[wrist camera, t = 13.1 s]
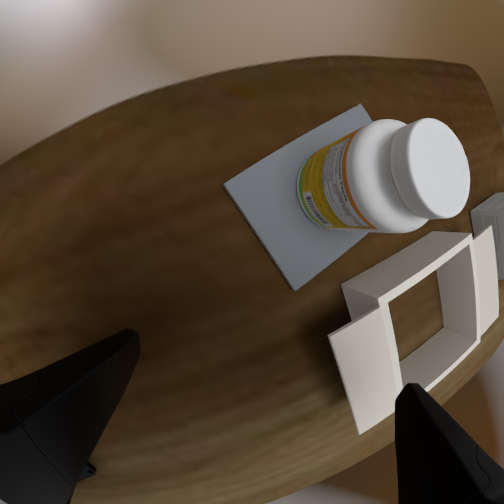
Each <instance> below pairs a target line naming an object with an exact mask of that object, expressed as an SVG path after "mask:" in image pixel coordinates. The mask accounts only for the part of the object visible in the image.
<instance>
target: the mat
mask: <svg viewBox="0 0 504 504" xmlns="http://www.w3.org/2000/svg"><path fill="white" fill-rule="evenodd" d="M370 123H372V120H371V118H370V117H369V115H368V114H367V112H366V111H365V109H364V108H363V106H362V105H361V104H360V105H358V106H356V107H354V108H352V109H350V110H348V111H346V112H344V113H342V114H340V115H339V116H337V117H335V118H333V119H331V120H329V121H328V122H326V123H324V124H322V125H320V126H318V127H317V128H315V129H313V130H311V131H310V132H308V133H306V134H304V135H303V136H301V137H299V138H297V139H296V140H294V141H292V142H290V143H289V144H287V145H285V146H284V147H282V148H280V149H279V150H277V151H275V152H274V153H272V154H270V155H269V156H267V157H265V158H264V159H262V160H261V161H259V162H257V163H256V164H254V165H252V166H251V167H249V168H248V169H246V170H245V171H243V172H241V173H240V174H238V175H237V176H235V177H234V178H232V179H230V180H229V181H227V182H226V183H224V184H223V186H224V188H225V189H226V191H227V192H228V194H229V195H230V197H231V198H232V200H233V201H234V203H235V204H236V206H237V207H238V209H239V210H240V212H241V213H242V214H243V216H244V217H245V219H246V220H247V222H248V223H249V225H250V226H251V228H252V229H253V231H254V232H255V234H256V235H257V237H258V238H259V240H260V241H261V243H262V244H263V246H264V247H265V249H266V250H267V252H268V253H269V255H270V256H271V258H272V259H273V261H274V262H275V264H276V265H277V267H278V268H279V270H280V271H281V273H282V275H283V276H284V278H285V279H286V281H287V282H288V284H289V285H290V287H291V288H292V289H293V290H294V291H296V290H298V289H299V288H300V287H302V286H303V285H304V284H305V283H307V282H308V281H309V280H311V279H312V278H313V277H314V276H316V275H317V274H318V273H320V272H321V271H322V270H323V269H325V268H326V267H327V266H328V265H330V264H331V263H332V262H333V261H335V260H336V259H337V258H338V257H340V256H341V255H342V254H343V253H345V252H346V251H347V250H348V249H350V248H351V247H352V246H353V245H354V244H356V243H357V242H358V241H359V240H361V239H362V238H363V237H364V236H365V235H367V234H368V233H369V232H359V231H338V230H330V229H326V228H323V227H321V226H319V225H318V224H316V223H315V222H313V221H312V220H311V219H310V218H309V217H308V216H307V214H306V213H305V211H304V210H303V208H302V206H301V204H300V201H299V197H298V193H297V180H298V175H299V172H300V169H301V167H302V165H303V164H304V162H305V161H306V160H307V159H308V158H309V157H310V156H311V155H312V154H314V153H315V152H317V151H318V150H320V149H322V148H324V147H325V146H327V145H329V144H331V143H333V142H335V141H337V140H339V139H340V138H342V137H344V136H346V135H348V134H350V133H352V132H354V131H356V130H357V129H359V128H361V127H363V126H365V125H367V124H370Z"/></svg>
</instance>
